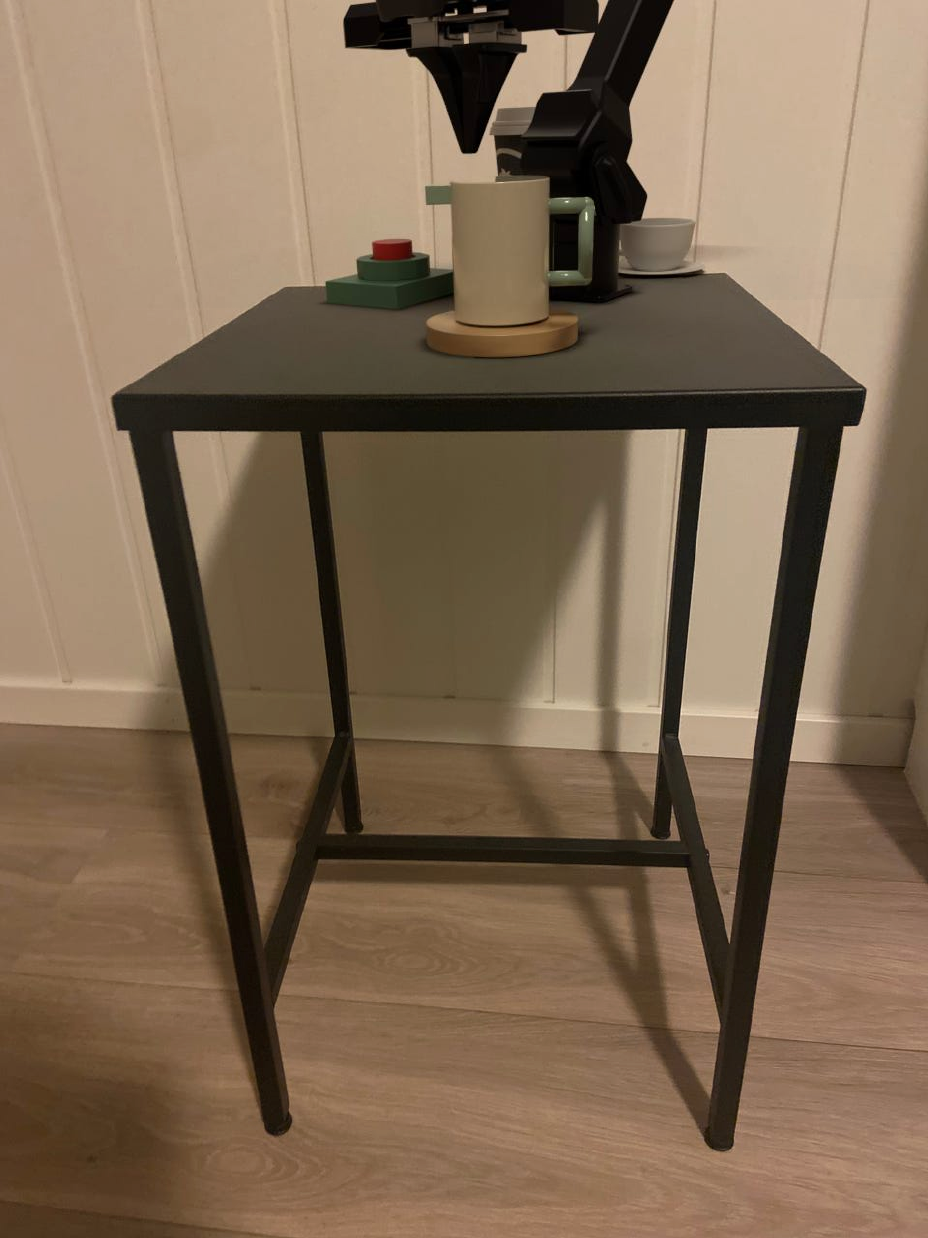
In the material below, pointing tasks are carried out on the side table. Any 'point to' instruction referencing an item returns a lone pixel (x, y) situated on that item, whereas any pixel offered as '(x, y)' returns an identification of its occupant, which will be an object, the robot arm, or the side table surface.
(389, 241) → the button
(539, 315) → the jug
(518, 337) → the disc
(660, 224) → the teacup
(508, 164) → the coffee cup
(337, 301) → the button box
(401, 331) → the side table surface
